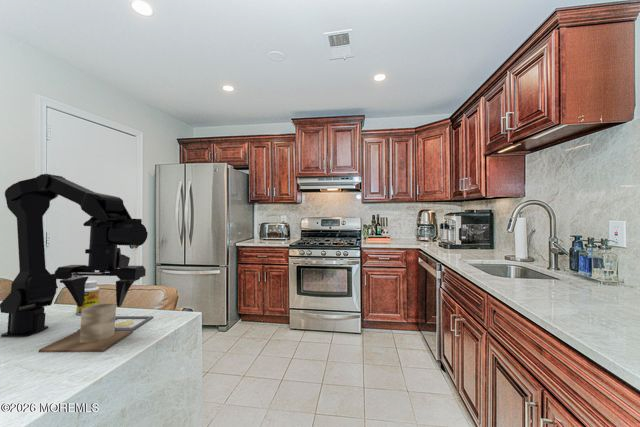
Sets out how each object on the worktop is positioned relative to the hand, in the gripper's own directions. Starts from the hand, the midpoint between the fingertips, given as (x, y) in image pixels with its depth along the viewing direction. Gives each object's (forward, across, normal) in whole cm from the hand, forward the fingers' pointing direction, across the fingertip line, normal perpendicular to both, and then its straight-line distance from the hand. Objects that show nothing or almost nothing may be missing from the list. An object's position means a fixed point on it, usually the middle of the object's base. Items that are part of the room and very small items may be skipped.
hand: (100, 306), depth 73 cm
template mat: (+9, +2, -12) cm, 15 cm away
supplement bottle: (+9, +18, -23) cm, 31 cm away
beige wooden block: (+8, 0, 0) cm, 8 cm away
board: (+9, +2, 0) cm, 9 cm away
